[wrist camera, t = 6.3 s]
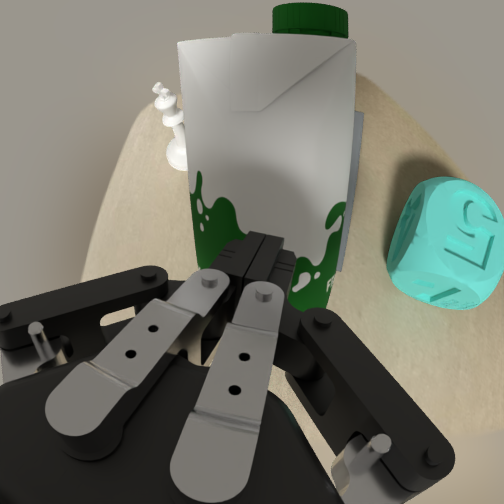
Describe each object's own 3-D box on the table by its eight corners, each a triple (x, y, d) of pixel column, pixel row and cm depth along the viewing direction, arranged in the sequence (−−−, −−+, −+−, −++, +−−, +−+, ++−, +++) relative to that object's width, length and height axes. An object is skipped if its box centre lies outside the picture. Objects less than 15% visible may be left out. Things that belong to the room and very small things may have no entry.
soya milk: (328, 357, 19) (371, -4, 9) (192, 343, 20) (155, 1, 10) (324, 277, 26) (344, 26, 16) (220, 269, 28) (209, 25, 17)
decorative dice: (377, 283, 25) (411, 258, 18) (400, 205, 27) (432, 160, 19) (451, 315, 24) (502, 301, 16) (468, 237, 25) (512, 204, 18)
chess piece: (193, 178, 30) (158, 112, 21) (158, 159, 31) (119, 98, 22) (222, 142, 31) (199, 72, 22) (187, 127, 32) (158, 61, 23)
